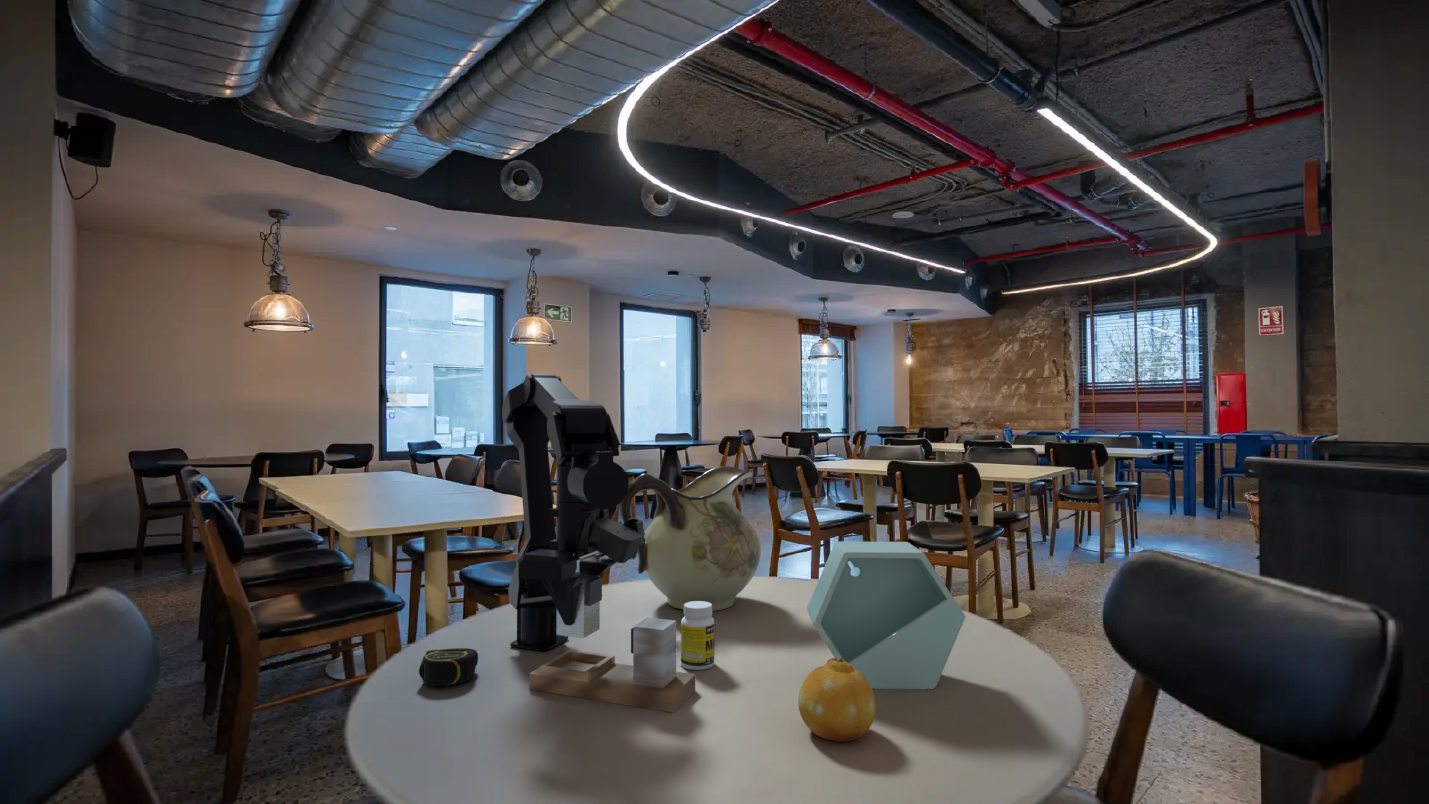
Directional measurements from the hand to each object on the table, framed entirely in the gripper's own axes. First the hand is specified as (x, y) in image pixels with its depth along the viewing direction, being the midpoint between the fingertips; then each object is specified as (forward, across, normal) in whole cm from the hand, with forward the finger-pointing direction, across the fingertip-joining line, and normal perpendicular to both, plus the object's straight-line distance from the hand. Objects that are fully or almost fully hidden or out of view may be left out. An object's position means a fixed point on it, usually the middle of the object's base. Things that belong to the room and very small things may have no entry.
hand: (577, 620), depth 89 cm
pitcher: (+9, +41, -1) cm, 42 cm away
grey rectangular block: (+2, 0, 0) cm, 2 cm away
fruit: (+8, -2, -34) cm, 35 cm away
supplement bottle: (+8, +12, -12) cm, 19 cm away
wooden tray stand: (+8, 0, -5) cm, 10 cm away
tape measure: (+9, -4, +17) cm, 20 cm away
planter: (+8, +16, -37) cm, 41 cm away
